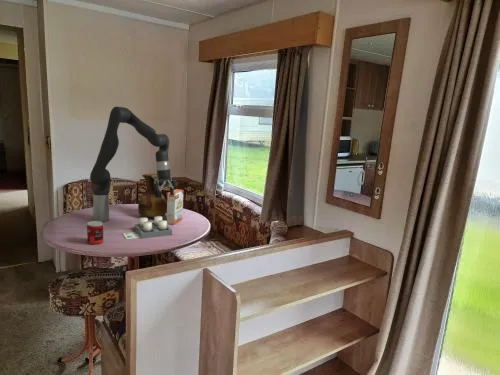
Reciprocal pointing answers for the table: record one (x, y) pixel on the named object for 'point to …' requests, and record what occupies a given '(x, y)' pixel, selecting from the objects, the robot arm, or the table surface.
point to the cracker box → (174, 206)
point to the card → (131, 235)
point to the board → (154, 232)
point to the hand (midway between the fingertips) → (166, 196)
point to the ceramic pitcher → (151, 199)
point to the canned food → (95, 232)
